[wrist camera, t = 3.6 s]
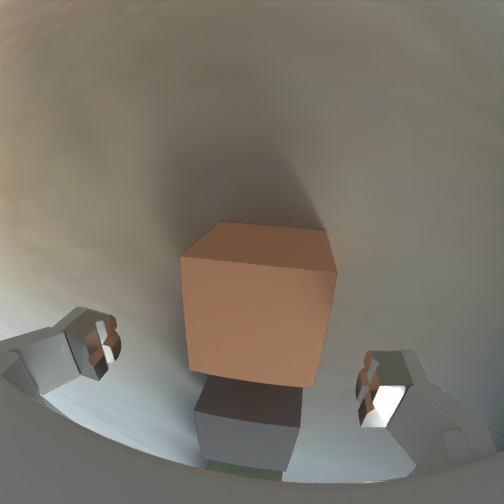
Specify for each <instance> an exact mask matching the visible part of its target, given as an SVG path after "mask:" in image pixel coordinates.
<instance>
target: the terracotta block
mask: <svg viewBox="0 0 504 504" xmlns="http://www.w3.org/2000/svg"><path fill="white" fill-rule="evenodd" d="M180 266H181V283H182V297H183V310H184V322H185V332H186V342H187V352H188V361H189V369H190V370H191V371H195V372H200V373H205V374H210V375H216V376H221V377H227V378H233V379H239V380H245V381H252V382H259V383H266V384H274V385H283V386H293V387H303V388H313V385H314V381H315V377H316V373H317V369H318V365H319V361H320V357H321V352H322V348H323V344H324V339H325V334H326V330H327V325H328V320H329V315H330V310H331V305H332V299H333V294H334V288H335V282H336V276H337V270H336V266H335V262H334V258H333V255H332V251H331V247H330V244H329V240H328V236H327V233H326V231H324V230H314V229H304V228H293V227H282V226H271V225H260V224H248V223H235V222H222V221H220V222H219V223H218V224H217V225H216V226H215V227H213V228H212V229H211V230H210V231H209V232H207V233H206V234H205V235H204V236H203V237H202V238H200V239H199V240H198V241H197V242H196V243H195V244H194V245H192V246H191V247H190V248H189V249H188V250H187V251H185V252H184V253H183V254H182V255H181V256H180Z"/></svg>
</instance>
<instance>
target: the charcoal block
mask: <svg viewBox="0 0 504 504" xmlns="http://www.w3.org/2000/svg"><path fill="white" fill-rule="evenodd" d="M302 390H303V387H293V386H283V385H274V384H266V383H259V382H252V381H245V380H239V379H233V378H227V377H221V376H216V375H209V377H208V379H207V382H206V384H205V386H204V389H203V391H202V393H201V395H200V398H199V400H198V402H197V405H196V407H195V409H194V415H195V421H196V427H197V433H198V439H199V444H200V449H201V455H202V458H206V459H210V460H215V461H220V462H225V463H230V464H235V465H241V466H247V467H253V468H261V469H268V470H277V471H286V470H287V467H288V464H289V461H290V458H291V455H292V452H293V449H294V445H295V442H296V439H297V436H298V432H299V429H300V420H301V406H302Z"/></svg>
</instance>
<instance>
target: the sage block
mask: <svg viewBox="0 0 504 504" xmlns="http://www.w3.org/2000/svg"><path fill="white" fill-rule="evenodd" d="M208 470H210V471H214V472H219V473H224V474H230V475H235V476H241V477H248V478H255V479H263V480H272V481H282V474H283V471H277V470H268V469H261V468H253V467H247V466H241V465H235V464H230V463H225V462H220V461H215V460H211V461H210V464H209V467H208Z"/></svg>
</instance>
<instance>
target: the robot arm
mask: <svg viewBox="0 0 504 504" xmlns="http://www.w3.org/2000/svg"><path fill="white" fill-rule="evenodd" d="M116 327H117V323H116V320H115V318H114V317H113V316H112V315H109V314H106V313H102V312H99V311H95V310H92V309H88V308H84V307H76V308H75V309H74V310H72V311H71V312H70V313H69V314H67V315H66V316H65V317H64V318H63V319H61V320H60V321H59V322H58V323H57V324H55V325H54V326H53V327H52V328H51V327H46V328H43V329H39V330H36V331H33V332H29V333H26V334H22V335H19V336H16V337H12V338H9V339H5V340H2V341H0V504H504V451H502V452H499V453H498V452H497V449H496V447H495V444H494V442H493V439H492V437H491V434H490V432H489V430H488V427H487V425H486V423H485V422H484V421H483V420H481V419H480V418H479V417H477V416H476V415H475V414H473V413H472V412H471V411H469V410H468V409H466V408H465V407H464V406H462V405H461V404H460V403H458V402H457V401H456V400H454V399H453V398H452V397H450V396H449V395H447V394H446V393H445V392H443V391H442V390H441V389H439V388H438V387H437V386H435V385H430V384H429V382H428V379H427V377H426V375H425V372H424V370H423V368H422V366H421V363H420V361H419V359H418V357H417V355H416V352H415V351H413V350H398V351H371V350H368V351H367V353H366V355H365V358H364V365H365V368H363V369H362V370H361V371H360V372H359V375H358V378H357V384H356V398H357V401H358V402H359V403H360V404H361V405H360V408H359V410H358V413H359V420H360V427H386V429H387V430H388V431H389V432H390V433H391V435H392V436H393V437H394V438H395V439H396V441H397V442H398V443H399V444H400V445H401V446H402V448H403V449H404V450H405V451H406V452H407V454H408V455H409V456H410V457H411V458H412V460H413V461H414V462H415V463H416V464H417V466H416V467H415V468H414V470H413V471H412V472H411V473H410V474H409V475H408V476H407V477H404V478H397V479H389V480H380V481H370V482H355V483H298V482H283V481H272V480H263V479H255V478H248V477H241V476H235V475H230V474H224V473H219V472H214V471H210V470H205V469H201V468H197V467H193V466H189V465H185V464H181V463H178V462H174V461H171V460H167V459H164V458H161V457H158V456H154V455H151V454H148V453H146V452H143V451H140V450H137V449H134V448H132V447H129V446H126V445H124V444H121V443H119V442H116V441H114V440H112V439H109V438H107V437H105V436H102V435H100V434H98V433H96V432H94V431H92V430H89V429H87V428H85V427H83V426H81V425H79V424H77V423H75V422H73V421H71V420H70V419H67V418H66V417H64V416H62V415H60V414H59V413H57V412H55V411H53V410H52V409H50V408H48V407H46V405H45V403H44V401H43V399H42V398H41V396H42V395H44V394H46V393H48V392H50V391H52V390H54V389H56V388H58V387H60V386H61V385H63V384H65V383H67V382H69V381H71V380H73V379H75V378H77V377H79V376H80V375H83V376H86V377H88V378H91V379H94V380H97V381H99V380H100V379H101V378H102V377H103V375H104V374H105V373H106V372H107V371H108V364H110V363H112V362H115V361H116V359H117V358H118V357H119V354H120V351H121V340H120V336H119V335H118V334H117V332H116V331H115V329H116Z"/></svg>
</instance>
